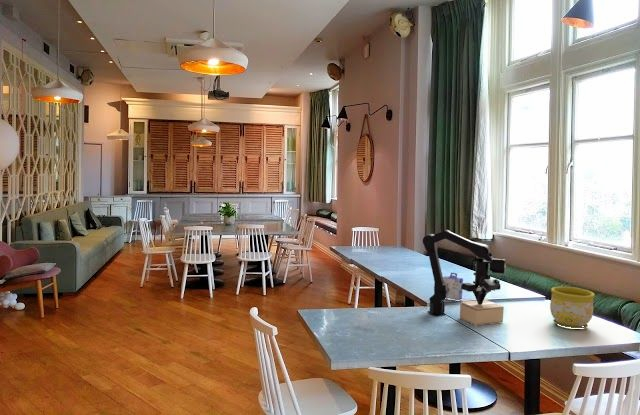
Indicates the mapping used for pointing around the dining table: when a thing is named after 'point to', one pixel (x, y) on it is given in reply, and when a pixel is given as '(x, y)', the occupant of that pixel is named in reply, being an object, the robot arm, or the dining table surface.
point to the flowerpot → (571, 306)
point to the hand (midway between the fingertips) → (479, 304)
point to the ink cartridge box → (454, 286)
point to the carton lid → (482, 305)
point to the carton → (481, 315)
